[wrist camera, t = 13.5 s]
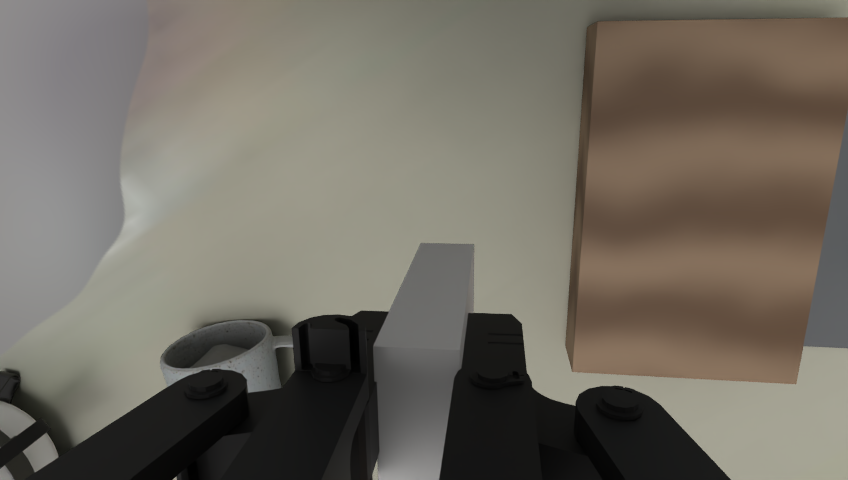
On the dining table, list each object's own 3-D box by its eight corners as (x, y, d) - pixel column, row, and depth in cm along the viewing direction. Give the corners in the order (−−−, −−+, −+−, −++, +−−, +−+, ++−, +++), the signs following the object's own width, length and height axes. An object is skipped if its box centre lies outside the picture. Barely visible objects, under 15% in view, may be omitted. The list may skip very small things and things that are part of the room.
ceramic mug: (216, 414, 48) (167, 475, 40) (192, 323, 46) (136, 369, 38) (340, 404, 46) (313, 466, 39) (321, 310, 44) (288, 356, 37)
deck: (586, 27, 36) (597, 21, 33) (824, 24, 35) (865, 17, 31) (565, 345, 42) (572, 371, 38) (767, 355, 41) (795, 384, 37)
